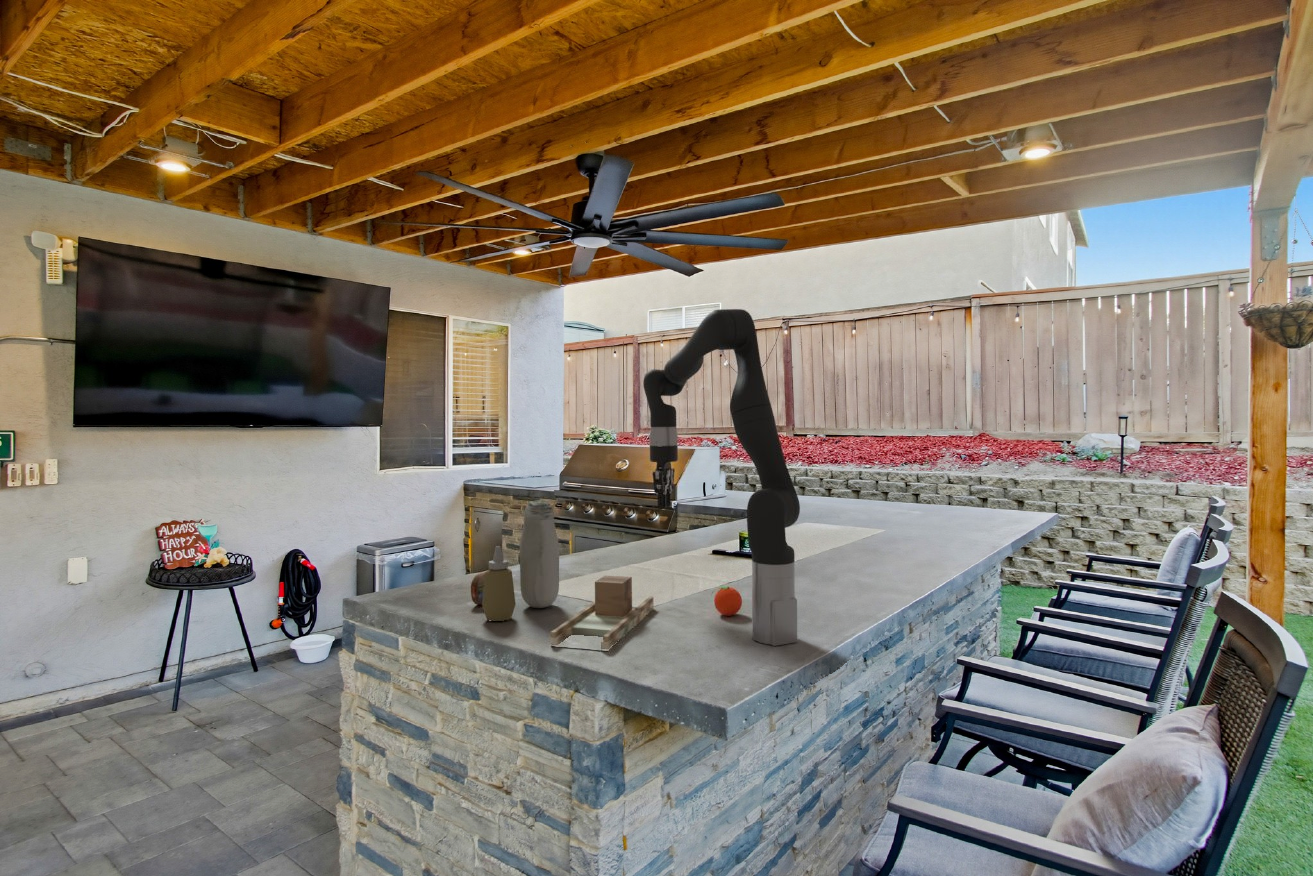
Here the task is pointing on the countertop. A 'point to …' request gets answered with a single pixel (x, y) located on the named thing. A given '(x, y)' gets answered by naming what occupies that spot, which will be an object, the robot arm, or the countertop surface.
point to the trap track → (601, 624)
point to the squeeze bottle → (498, 589)
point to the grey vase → (539, 556)
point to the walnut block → (613, 596)
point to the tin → (477, 588)
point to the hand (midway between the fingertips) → (664, 507)
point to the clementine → (727, 601)
